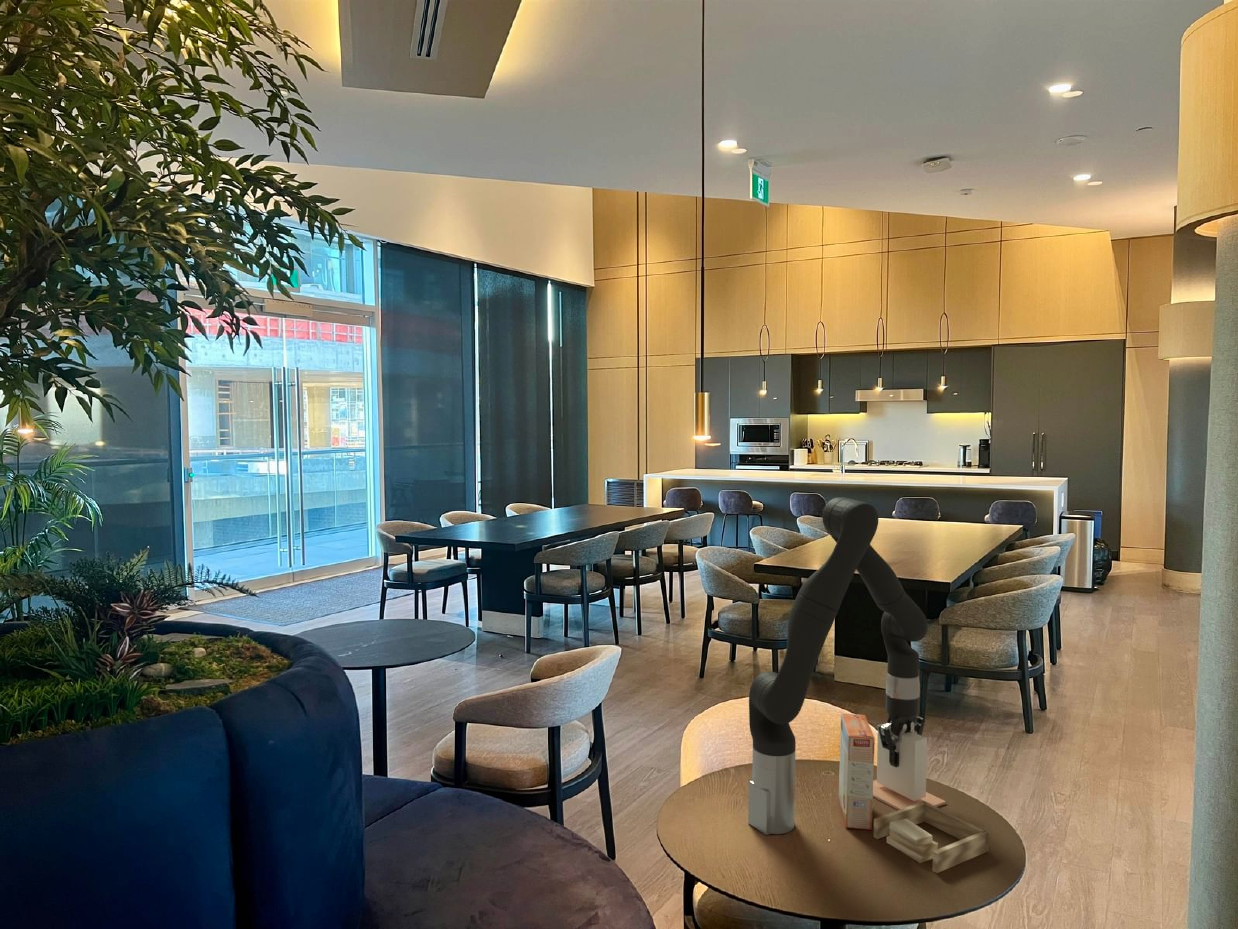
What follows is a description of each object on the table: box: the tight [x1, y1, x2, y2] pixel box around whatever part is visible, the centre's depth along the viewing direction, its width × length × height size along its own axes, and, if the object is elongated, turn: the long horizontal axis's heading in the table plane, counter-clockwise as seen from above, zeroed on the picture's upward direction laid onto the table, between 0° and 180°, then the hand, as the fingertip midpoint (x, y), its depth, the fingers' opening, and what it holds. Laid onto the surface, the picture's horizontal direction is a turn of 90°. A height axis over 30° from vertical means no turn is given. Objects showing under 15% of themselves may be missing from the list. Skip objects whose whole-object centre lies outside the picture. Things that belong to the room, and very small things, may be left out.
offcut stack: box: [886, 819, 939, 864], centre depth 169 cm, size 5×9×4 cm, turn 28°
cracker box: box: [838, 713, 876, 831], centre depth 183 cm, size 14×6×21 cm, turn 171°
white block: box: [876, 722, 928, 801], centre depth 192 cm, size 4×11×14 cm, turn 30°
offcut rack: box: [873, 801, 989, 874], centre depth 171 cm, size 16×16×4 cm
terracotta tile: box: [873, 779, 947, 811], centre depth 193 cm, size 12×16×1 cm
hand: (901, 763), depth 192 cm, fingers closed on white block, 4 cm apart
